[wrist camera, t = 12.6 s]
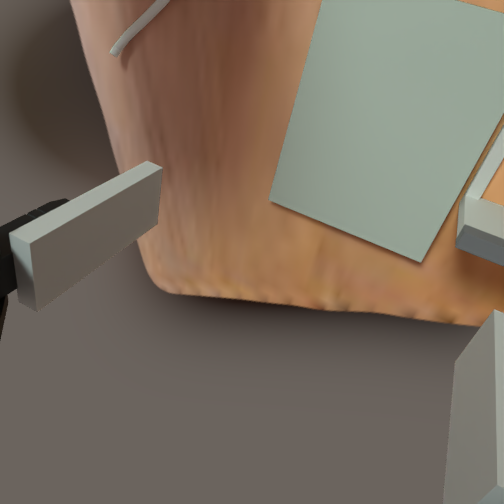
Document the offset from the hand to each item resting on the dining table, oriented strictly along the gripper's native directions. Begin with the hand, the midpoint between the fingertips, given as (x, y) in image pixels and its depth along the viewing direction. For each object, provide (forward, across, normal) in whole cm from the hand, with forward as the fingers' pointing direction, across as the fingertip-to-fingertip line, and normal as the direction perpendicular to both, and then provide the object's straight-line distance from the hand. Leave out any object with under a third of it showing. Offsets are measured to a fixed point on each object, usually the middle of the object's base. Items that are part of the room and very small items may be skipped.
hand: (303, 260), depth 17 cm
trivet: (+21, -1, -1) cm, 21 cm away
